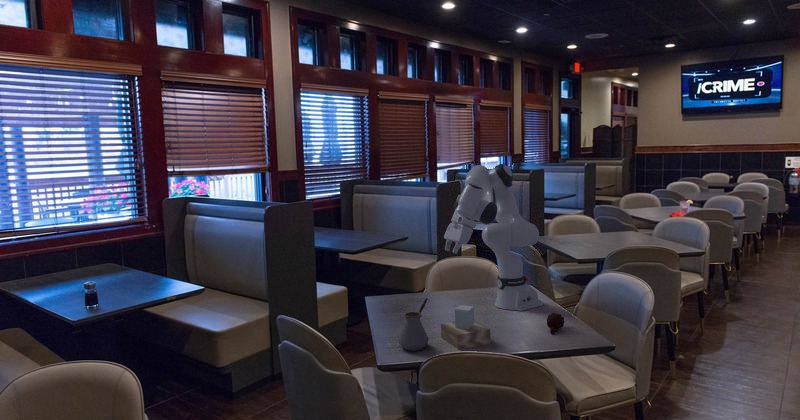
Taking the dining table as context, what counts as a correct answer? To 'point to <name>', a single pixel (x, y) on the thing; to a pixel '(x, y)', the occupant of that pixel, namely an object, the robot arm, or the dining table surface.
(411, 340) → the coffee pot
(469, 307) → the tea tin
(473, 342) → the oak box
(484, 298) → the dining table surface
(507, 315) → the dining table surface
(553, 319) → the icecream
